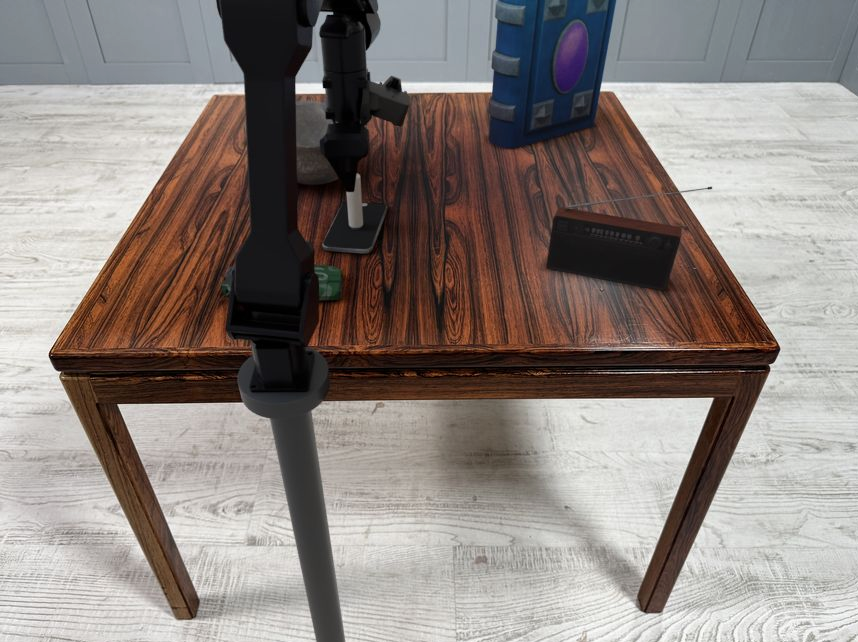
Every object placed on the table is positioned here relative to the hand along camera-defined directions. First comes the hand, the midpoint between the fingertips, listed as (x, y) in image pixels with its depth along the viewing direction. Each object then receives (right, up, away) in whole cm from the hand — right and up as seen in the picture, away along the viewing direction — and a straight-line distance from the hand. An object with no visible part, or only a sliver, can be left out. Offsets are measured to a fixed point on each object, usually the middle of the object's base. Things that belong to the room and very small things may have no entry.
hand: (352, 177), depth 96 cm
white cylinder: (0, -7, +6) cm, 9 cm away
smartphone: (0, -6, +7) cm, 9 cm away
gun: (-9, -16, -5) cm, 19 cm away
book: (+34, +18, +36) cm, 53 cm away
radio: (+37, -15, -4) cm, 40 cm away
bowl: (-9, +6, +21) cm, 24 cm away
